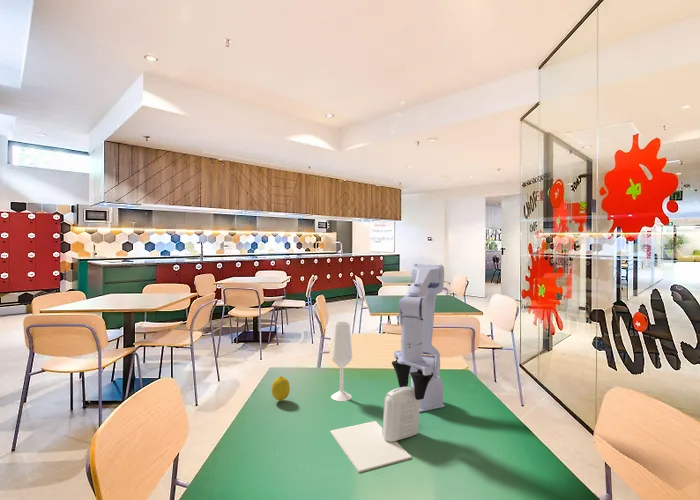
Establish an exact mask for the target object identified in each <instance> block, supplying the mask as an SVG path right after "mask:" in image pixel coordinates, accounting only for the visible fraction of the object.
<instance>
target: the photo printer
mask: <svg viewBox="0 0 700 500" xmlns="http://www.w3.org/2000/svg"><path fill="white" fill-rule="evenodd" d="M383 402H384V403H383V413H382V414H383V416H382V417H383V418H382V428H383V429H382V435H383V438H384V439H385V440H387V441H389V442H392V441H396V442H398V441H399V440H400V441H401V440H403V439H407V438H409V437H413V436H416V435H417V434H418V432H419V419H420V412H419V407H420V400H416V398H415V391H414V388H413V387H411V386H407V387H398V388H394V389H392V390H390V391H388V392H387V393H386V394H385V395H384V400H383Z"/></svg>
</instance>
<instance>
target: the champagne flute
mask: <svg viewBox="0 0 700 500" xmlns="http://www.w3.org/2000/svg"><path fill="white" fill-rule="evenodd" d="M351 339H352V337H351V326H350V322H349V321H335V323H334V328H333V339H332V348H331V360H332V362H334V364H335V365H336V366H337V367H339V390H338V391H336V392H335V393H333V394H331V396H330V398H331V399H332V400H333V401H337V402H348V401H349V400H351V399H352V395H351V394H350V393H348V392H347V391H345V390H344V367H346V366H347V365H349V363H350V362H351V361H352V359H353V353H352V352H353V351H352V340H351Z"/></svg>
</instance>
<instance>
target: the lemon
mask: <svg viewBox="0 0 700 500" xmlns="http://www.w3.org/2000/svg"><path fill="white" fill-rule="evenodd" d="M290 388H291V387H290V382H289V380H288V379H287V378H286V377H284V376H282V375H280V376H278V377H276V378H275V379H274V380H273V381H272V386H271V394H272V397H273V398H274V400H276V401H278V402H283V401H284V400H285V399H287V398H288V397H289V394H290V391H291V390H290Z"/></svg>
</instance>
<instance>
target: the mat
mask: <svg viewBox="0 0 700 500" xmlns="http://www.w3.org/2000/svg"><path fill="white" fill-rule="evenodd" d="M382 429H383V426H381V425H380V424H379V423H378V422H377V421H376V420H373V421H368V422H365V423H360V424H355V425H354V424H353V425H351V426H346V427H341V428H335V429H331V430H329V433H330V435H332V437H333V438H334V440H335V441H336V443H337V444H338V445H339V447H340V448H341V450H342V452H343V453H344V454H345V456H346V457H347V458H348V459H349V461H350V462H351V464H352V465H353V467H354V468H355V469H356V471H357V472H358V473H363V472H365V471H371V470H373V469H376V468H380V467H384V466H388V465H391V464H392V465H393V464H397V463H399V462H402V461H403V462H404V461H406V460H410V459H412V455H411V454H410V453H408V451H406V449H405V448H403V446H401V444H400V443H399V442H398V441H392V442H389V441H387V440H385V439H384V438H383V435H382Z"/></svg>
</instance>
